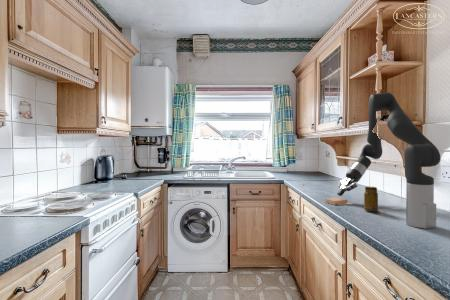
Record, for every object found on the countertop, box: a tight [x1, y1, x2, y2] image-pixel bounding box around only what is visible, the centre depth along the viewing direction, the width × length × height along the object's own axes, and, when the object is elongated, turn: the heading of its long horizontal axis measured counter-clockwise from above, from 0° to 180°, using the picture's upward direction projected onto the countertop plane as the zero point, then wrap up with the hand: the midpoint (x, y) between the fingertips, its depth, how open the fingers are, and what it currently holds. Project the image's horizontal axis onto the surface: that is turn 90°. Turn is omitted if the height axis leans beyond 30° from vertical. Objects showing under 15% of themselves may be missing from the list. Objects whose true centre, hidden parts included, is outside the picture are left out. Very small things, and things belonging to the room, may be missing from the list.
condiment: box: [363, 186, 385, 215], centre depth 136 cm, size 7×8×12 cm
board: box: [338, 201, 353, 206], centre depth 155 cm, size 9×9×1 cm
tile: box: [324, 197, 348, 206], centre depth 154 cm, size 7×2×9 cm
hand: (339, 195), depth 154 cm, fingers closed
